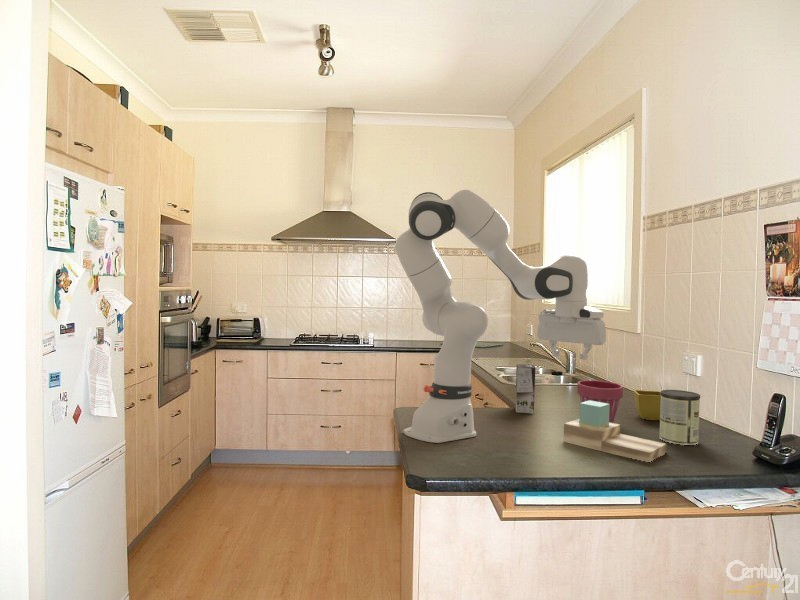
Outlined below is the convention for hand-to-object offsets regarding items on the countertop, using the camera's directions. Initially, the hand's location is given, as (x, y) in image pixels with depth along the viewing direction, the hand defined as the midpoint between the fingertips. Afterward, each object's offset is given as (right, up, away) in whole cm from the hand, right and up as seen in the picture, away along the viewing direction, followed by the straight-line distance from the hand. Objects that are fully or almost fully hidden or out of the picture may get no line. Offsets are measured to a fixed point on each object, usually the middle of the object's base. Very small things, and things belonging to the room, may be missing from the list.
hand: (569, 357), depth 153 cm
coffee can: (+32, -25, -1) cm, 40 cm away
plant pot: (+16, -24, +18) cm, 34 cm away
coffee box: (-6, -23, +32) cm, 40 cm away
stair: (+9, -24, -9) cm, 27 cm away
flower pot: (+35, -24, +25) cm, 49 cm away
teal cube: (+5, -18, -6) cm, 20 cm away
